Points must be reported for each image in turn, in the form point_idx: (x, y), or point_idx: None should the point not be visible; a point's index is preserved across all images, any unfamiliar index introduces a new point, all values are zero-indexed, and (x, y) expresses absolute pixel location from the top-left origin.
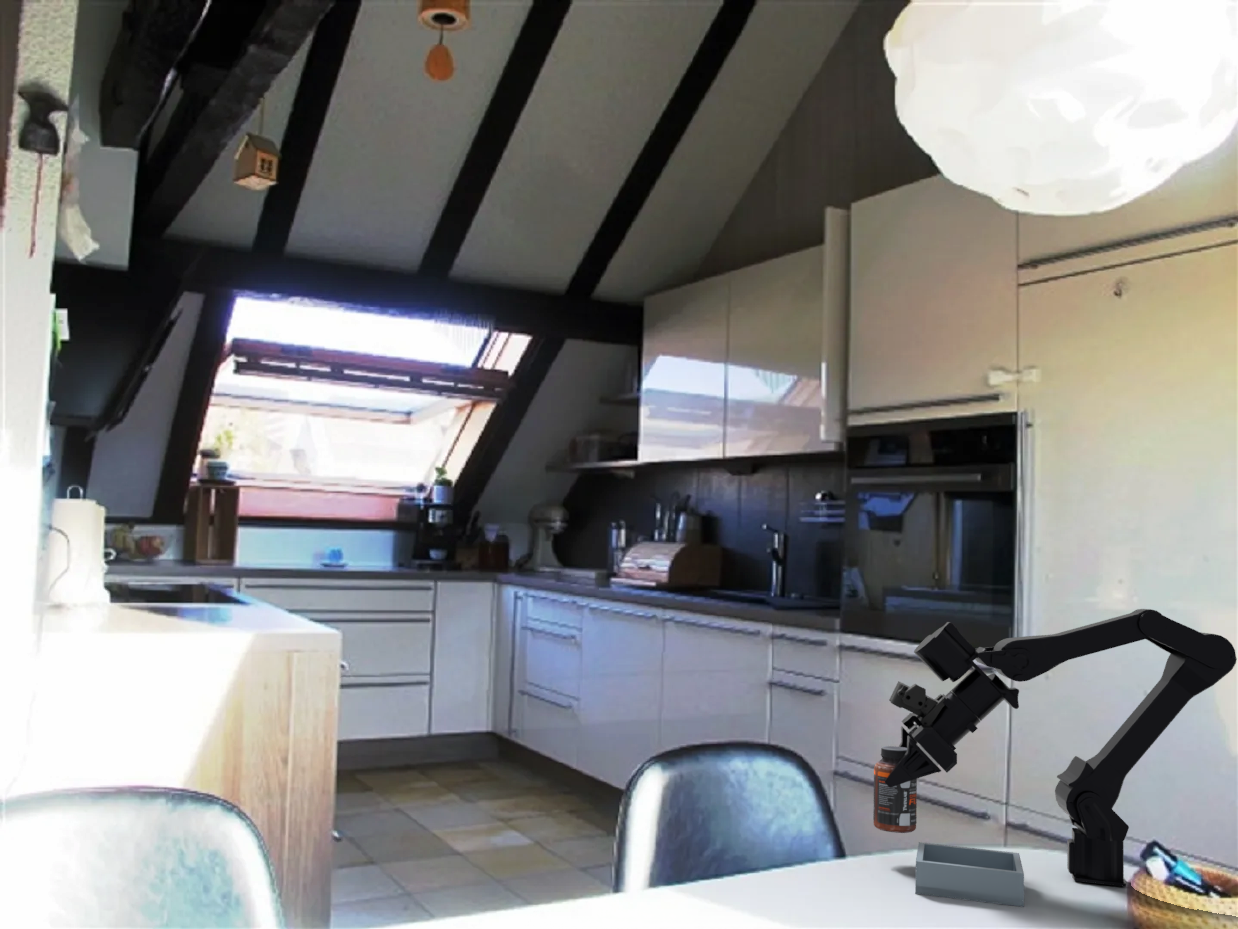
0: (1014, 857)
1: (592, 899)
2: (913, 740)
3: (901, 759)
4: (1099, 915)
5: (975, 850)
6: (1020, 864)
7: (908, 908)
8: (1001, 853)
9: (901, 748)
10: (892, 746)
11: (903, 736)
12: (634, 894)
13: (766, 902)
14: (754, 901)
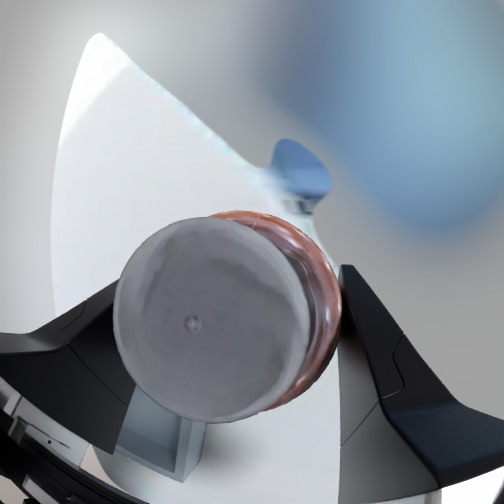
0: (151, 464)
1: (110, 44)
2: (376, 495)
3: (78, 313)
4: (110, 470)
5: (181, 431)
6: (117, 449)
7: (73, 275)
8: (176, 461)
9: (178, 365)
10: (281, 317)
11: (403, 448)
12: (117, 54)
13: (88, 135)
14: (91, 126)
